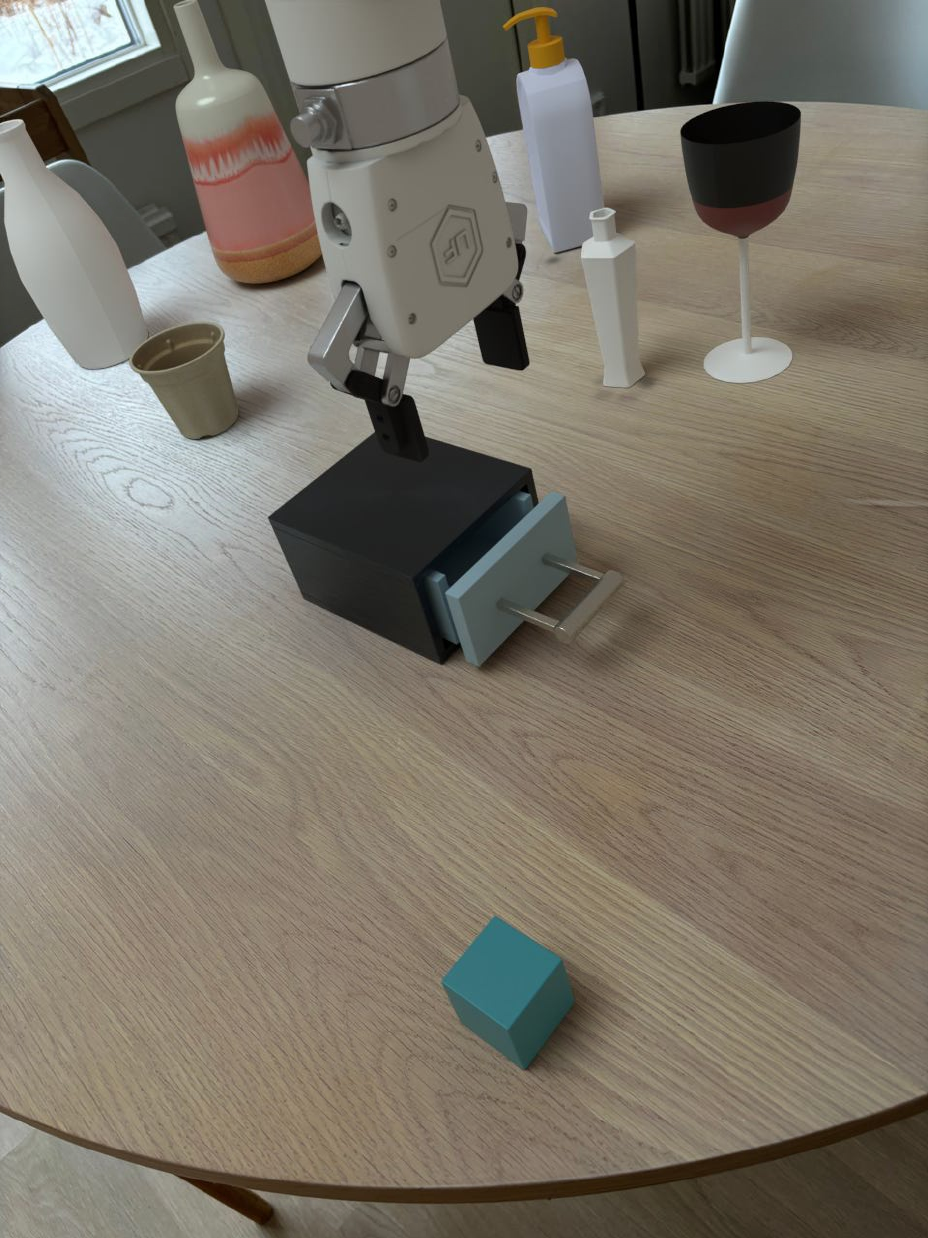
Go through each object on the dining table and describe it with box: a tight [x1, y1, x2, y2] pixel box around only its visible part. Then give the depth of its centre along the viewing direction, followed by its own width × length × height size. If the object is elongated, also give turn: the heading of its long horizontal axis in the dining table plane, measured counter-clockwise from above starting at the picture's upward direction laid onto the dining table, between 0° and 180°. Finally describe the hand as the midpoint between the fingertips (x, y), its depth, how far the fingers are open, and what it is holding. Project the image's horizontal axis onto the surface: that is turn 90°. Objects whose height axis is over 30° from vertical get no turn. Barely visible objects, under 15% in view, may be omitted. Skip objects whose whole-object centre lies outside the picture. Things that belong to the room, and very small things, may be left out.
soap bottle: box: [502, 6, 605, 254], centre depth 108 cm, size 9×7×23 cm
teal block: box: [440, 915, 576, 1071], centre depth 49 cm, size 4×4×4 cm
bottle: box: [0, 118, 149, 370], centre depth 111 cm, size 11×11×25 cm
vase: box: [173, 0, 322, 285], centre depth 117 cm, size 14×14×30 cm
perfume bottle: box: [580, 207, 646, 389], centre depth 86 cm, size 5×4×15 cm
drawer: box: [423, 491, 626, 667], centre depth 70 cm, size 20×11×6 cm, turn 50°
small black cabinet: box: [267, 431, 540, 666], centre depth 74 cm, size 15×13×8 cm
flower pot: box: [128, 321, 240, 440], centre depth 99 cm, size 9×9×9 cm
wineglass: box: [679, 100, 802, 384], centre depth 82 cm, size 8×9×20 cm
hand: (458, 408), depth 59 cm, fingers open, 9 cm apart
